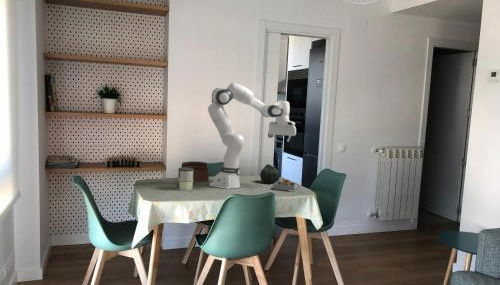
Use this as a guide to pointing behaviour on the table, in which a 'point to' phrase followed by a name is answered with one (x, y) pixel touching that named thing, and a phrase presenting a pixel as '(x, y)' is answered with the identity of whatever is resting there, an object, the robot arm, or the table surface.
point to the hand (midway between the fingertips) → (281, 141)
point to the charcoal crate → (284, 186)
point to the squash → (269, 174)
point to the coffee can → (185, 178)
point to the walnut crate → (285, 182)
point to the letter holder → (198, 171)
